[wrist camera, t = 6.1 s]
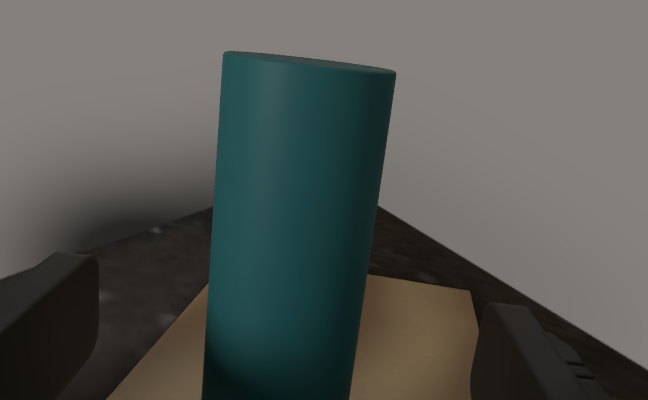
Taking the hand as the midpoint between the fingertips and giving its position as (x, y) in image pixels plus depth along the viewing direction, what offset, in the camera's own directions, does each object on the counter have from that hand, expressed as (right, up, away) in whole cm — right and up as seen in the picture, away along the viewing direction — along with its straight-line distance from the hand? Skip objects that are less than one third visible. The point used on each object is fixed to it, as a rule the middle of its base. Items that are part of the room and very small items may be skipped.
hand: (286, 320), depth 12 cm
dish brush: (-1, -7, +1) cm, 7 cm away
